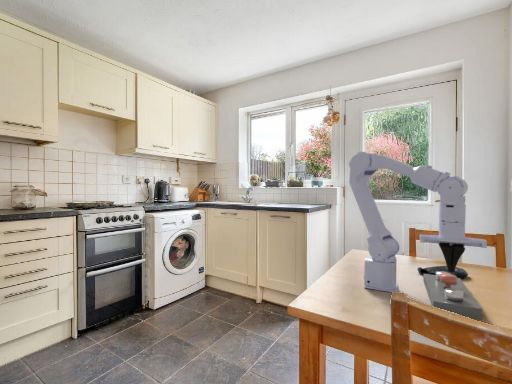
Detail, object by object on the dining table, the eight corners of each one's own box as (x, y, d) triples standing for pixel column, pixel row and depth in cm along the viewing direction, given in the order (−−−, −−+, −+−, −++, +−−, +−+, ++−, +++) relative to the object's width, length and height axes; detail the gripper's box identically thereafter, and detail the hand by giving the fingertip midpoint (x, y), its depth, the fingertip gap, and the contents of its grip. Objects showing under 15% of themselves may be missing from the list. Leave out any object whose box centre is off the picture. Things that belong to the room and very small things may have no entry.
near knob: (445, 307, 70) (446, 292, 70) (443, 301, 74) (443, 287, 74) (464, 310, 68) (465, 295, 68) (461, 304, 72) (461, 289, 72)
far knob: (436, 286, 84) (436, 274, 84) (434, 282, 88) (434, 270, 88) (452, 288, 83) (452, 276, 82) (449, 284, 86) (449, 272, 86)
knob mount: (433, 310, 70) (433, 301, 70) (423, 280, 91) (423, 273, 91) (482, 319, 65) (482, 309, 65) (459, 285, 87) (459, 278, 87)
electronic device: (442, 287, 90) (475, 277, 94) (438, 271, 90) (471, 261, 94) (418, 281, 98) (449, 272, 102) (415, 266, 99) (446, 258, 103)
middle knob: (440, 290, 77) (441, 276, 77) (438, 285, 81) (438, 272, 81) (458, 292, 75) (458, 278, 75) (454, 287, 79) (455, 274, 79)
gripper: (481, 221, 72) (480, 270, 73) (419, 217, 79) (418, 263, 80) (490, 224, 66) (488, 279, 67) (421, 220, 73) (420, 270, 73)
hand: (450, 271), depth 73 cm, fingers closed
